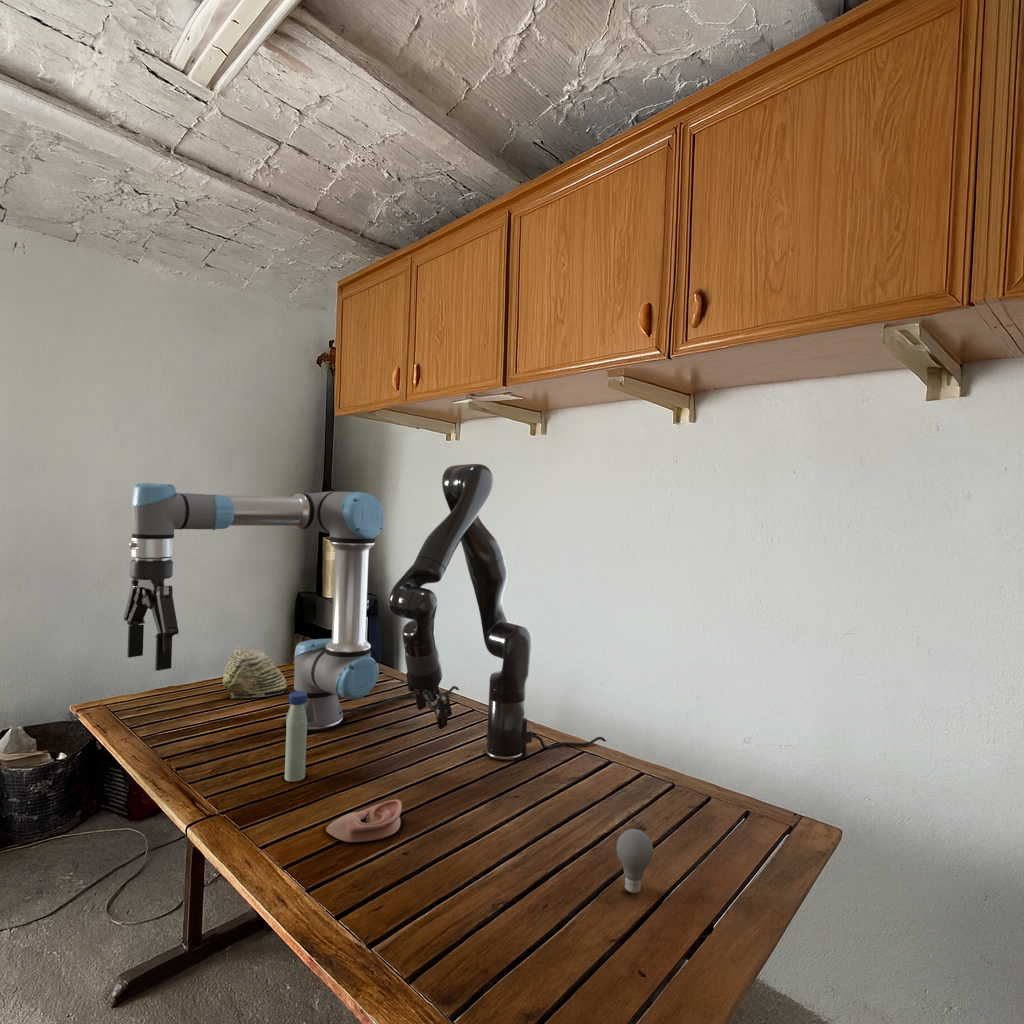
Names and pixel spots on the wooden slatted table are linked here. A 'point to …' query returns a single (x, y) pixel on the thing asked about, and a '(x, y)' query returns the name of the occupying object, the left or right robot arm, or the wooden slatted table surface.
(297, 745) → the bottle
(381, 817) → the anatomical model
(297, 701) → the cap
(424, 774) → the wooden slatted table surface
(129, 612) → the left robot arm
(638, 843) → the light bulb
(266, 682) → the fossil
